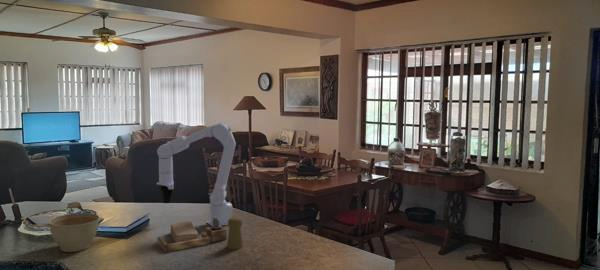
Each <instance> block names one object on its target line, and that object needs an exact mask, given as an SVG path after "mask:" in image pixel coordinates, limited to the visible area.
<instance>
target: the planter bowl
mask: <svg viewBox="0 0 600 270" xmlns="http://www.w3.org/2000/svg"><path fill="white" fill-rule="evenodd" d="M99 221H100V216H99V215H98V214H97V213H91V212H90V213H89V212H75V213H68V214H63V215H59V216H55V217H52V218H51V219H49V221H48V223H49V229H50V233H51V236H52V239H53V241H54V242H55V243H56V245H58V246H59V247H60V251H62V252H67V253H73V252H74V253H75V252H80V251H84V250H87V249H88V248H89V247H91V242H92V241H93V240H94V238H95V237H96V235H97V232H98V229H99Z"/></svg>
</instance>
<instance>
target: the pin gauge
mask: <svg viewBox="0 0 600 270" xmlns="http://www.w3.org/2000/svg"><path fill="white" fill-rule="evenodd" d="M212 227H213V231H215V230H219V218H213V226H212Z"/></svg>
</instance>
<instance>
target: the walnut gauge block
mask: <svg viewBox="0 0 600 270" xmlns="http://www.w3.org/2000/svg"><path fill="white" fill-rule="evenodd" d="M205 234H207V235H208V236H209V237H211V243H215V242H220V241H226V240H227V229H226V228H225V227H223V226H219V230H215V231H213V226H211V227H210V226H209V227H205Z"/></svg>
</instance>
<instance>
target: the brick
mask: <svg viewBox="0 0 600 270" xmlns="http://www.w3.org/2000/svg"><path fill="white" fill-rule="evenodd" d="M198 232H199V231H197V230H196V228H194V225H193V223H192V221H188V220H187V221H186V220H185V221H179V222H174V223H173V222H172V223H170V235H171V237H172V239H173V241H174V243H177V242H183V241H189V240H194V239H199V233H198Z"/></svg>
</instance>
